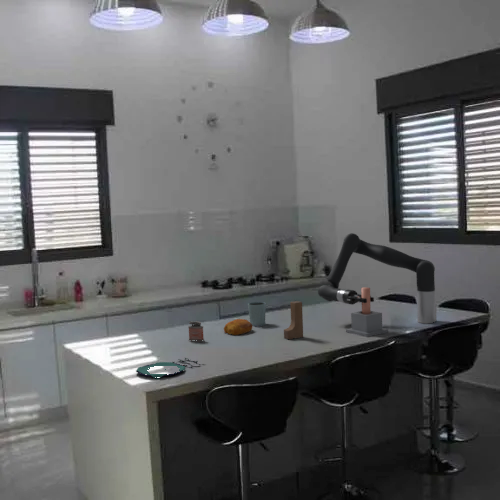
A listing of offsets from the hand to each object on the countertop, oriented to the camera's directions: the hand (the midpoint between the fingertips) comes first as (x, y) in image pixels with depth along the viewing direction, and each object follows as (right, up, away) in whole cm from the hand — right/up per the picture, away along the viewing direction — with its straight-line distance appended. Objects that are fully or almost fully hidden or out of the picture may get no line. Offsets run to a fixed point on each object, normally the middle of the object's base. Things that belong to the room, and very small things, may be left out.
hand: (369, 300), depth 323 cm
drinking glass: (-56, -16, +34) cm, 68 cm away
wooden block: (-39, -19, -2) cm, 43 cm away
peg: (-1, -14, +4) cm, 14 cm away
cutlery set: (-95, -26, -51) cm, 111 cm away
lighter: (-88, -21, +1) cm, 90 cm away
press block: (-1, -17, +4) cm, 17 cm away
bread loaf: (-67, -19, +17) cm, 72 cm away
